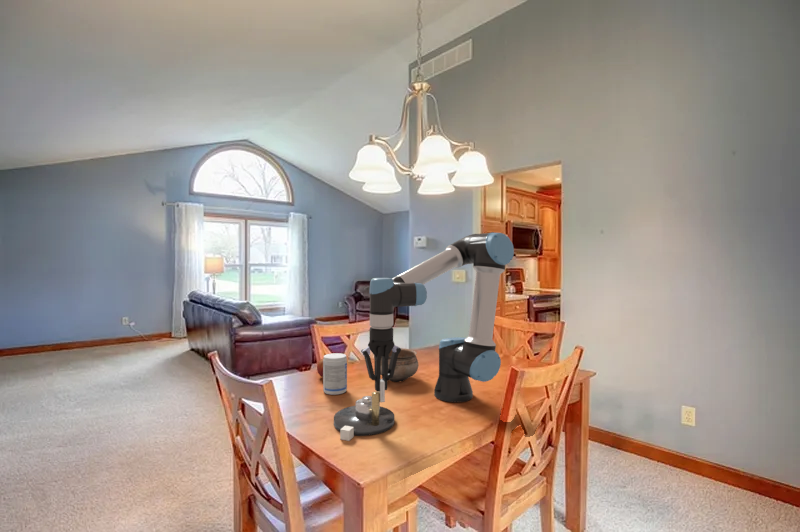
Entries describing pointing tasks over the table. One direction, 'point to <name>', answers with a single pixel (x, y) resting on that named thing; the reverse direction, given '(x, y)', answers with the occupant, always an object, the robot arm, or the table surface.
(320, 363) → the fruit
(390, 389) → the table surface
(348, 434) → the white cube
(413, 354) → the cooking pot
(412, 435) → the table surface
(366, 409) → the cover
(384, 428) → the turntable
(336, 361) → the supplement tub
